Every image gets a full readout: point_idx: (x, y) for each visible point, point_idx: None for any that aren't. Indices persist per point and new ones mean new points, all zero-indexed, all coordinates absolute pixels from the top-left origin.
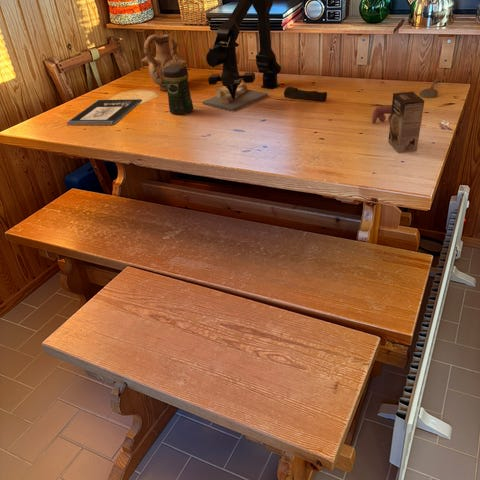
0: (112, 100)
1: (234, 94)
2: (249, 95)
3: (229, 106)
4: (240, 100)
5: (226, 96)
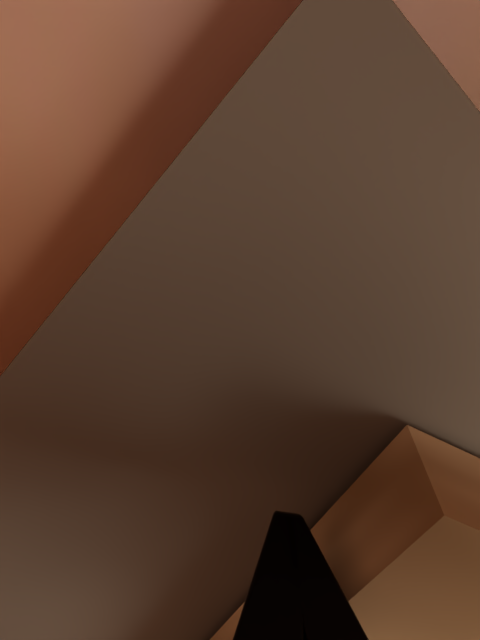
0: None
1: (255, 617)
2: (45, 631)
3: (410, 217)
4: (159, 500)
5: (456, 612)
